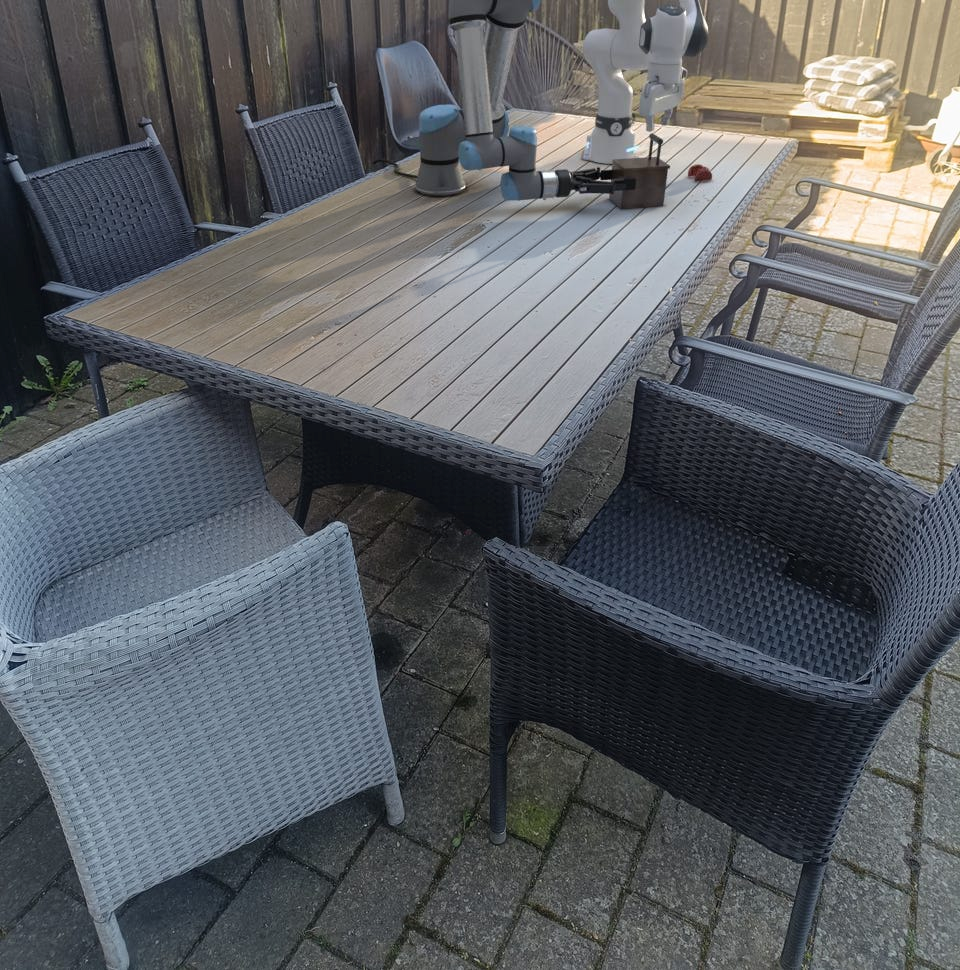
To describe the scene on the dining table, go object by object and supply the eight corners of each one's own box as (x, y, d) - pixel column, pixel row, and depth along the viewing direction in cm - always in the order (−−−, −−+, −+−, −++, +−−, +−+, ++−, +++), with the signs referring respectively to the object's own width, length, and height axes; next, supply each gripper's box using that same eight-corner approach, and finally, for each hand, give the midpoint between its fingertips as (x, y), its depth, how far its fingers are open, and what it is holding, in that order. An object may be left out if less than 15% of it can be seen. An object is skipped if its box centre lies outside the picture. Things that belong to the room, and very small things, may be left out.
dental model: (703, 160, 269) (714, 167, 263) (701, 174, 271) (713, 181, 265) (687, 162, 268) (698, 169, 262) (685, 176, 270) (696, 183, 264)
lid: (656, 159, 248) (659, 131, 243) (669, 168, 240) (673, 139, 235) (612, 162, 245) (614, 133, 241) (624, 171, 237) (627, 142, 233)
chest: (650, 195, 254) (654, 159, 247) (663, 206, 246) (668, 169, 239) (609, 198, 251) (612, 162, 245) (620, 209, 243) (624, 171, 237)
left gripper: (543, 186, 251) (613, 181, 255) (565, 209, 233) (641, 203, 237) (544, 159, 247) (616, 155, 251) (567, 181, 229) (644, 176, 233)
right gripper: (657, 80, 221) (650, 136, 229) (690, 70, 234) (683, 123, 242) (635, 78, 224) (630, 133, 232) (669, 68, 237) (663, 120, 245)
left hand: (628, 179), depth 244 cm, fingers closed on chest, 10 cm apart
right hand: (657, 128), depth 237 cm, fingers open, 8 cm apart
